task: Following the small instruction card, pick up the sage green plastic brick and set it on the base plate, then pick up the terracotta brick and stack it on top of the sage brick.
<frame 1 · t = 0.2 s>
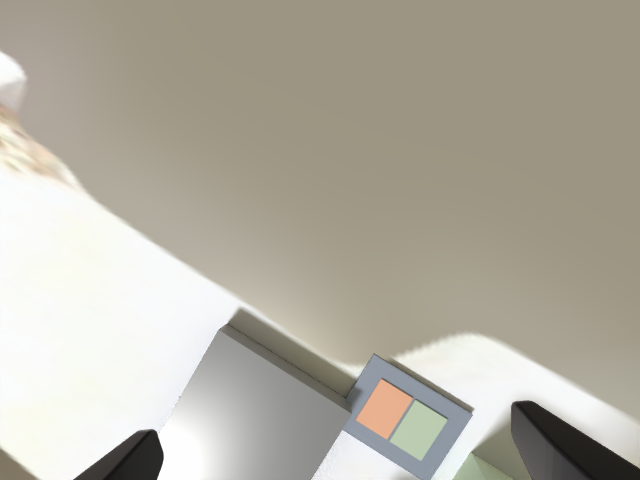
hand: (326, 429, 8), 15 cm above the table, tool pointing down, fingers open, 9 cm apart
base plate: (242, 438, 24), on the table
instruction card: (400, 416, 23), on the table
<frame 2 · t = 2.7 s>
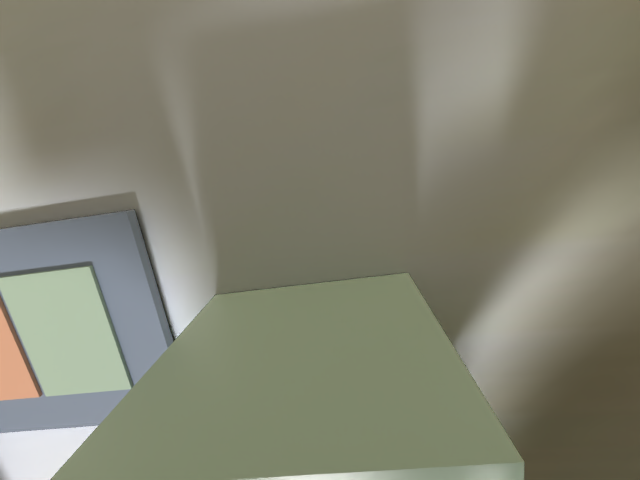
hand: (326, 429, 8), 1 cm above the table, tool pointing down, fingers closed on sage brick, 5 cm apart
instruction card: (32, 333, 9), on the table
sage brick: (328, 398, 9), on the table, touching gripper
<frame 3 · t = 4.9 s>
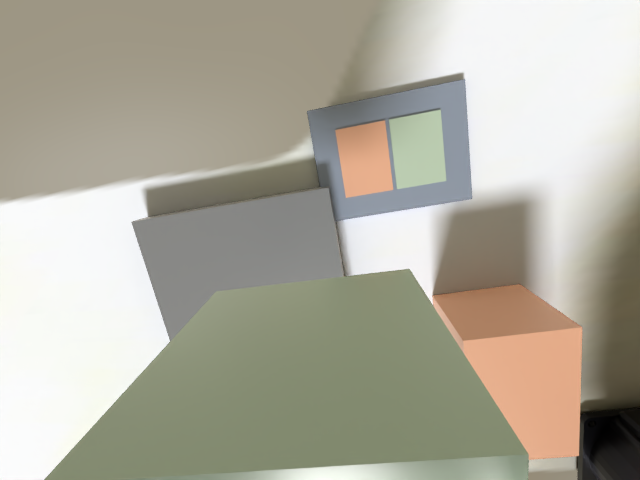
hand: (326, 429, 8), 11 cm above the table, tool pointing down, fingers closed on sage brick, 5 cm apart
base plate: (262, 310, 20), on the table
terracotta brick: (477, 340, 19), on the table
instruction card: (390, 155, 17), on the table
sage brick: (328, 395, 9), point 10 cm above the table, touching gripper
when the fingers open (4 cm above the table, at t = 7.0 s): sage brick drops 1 cm, resting on base plate.
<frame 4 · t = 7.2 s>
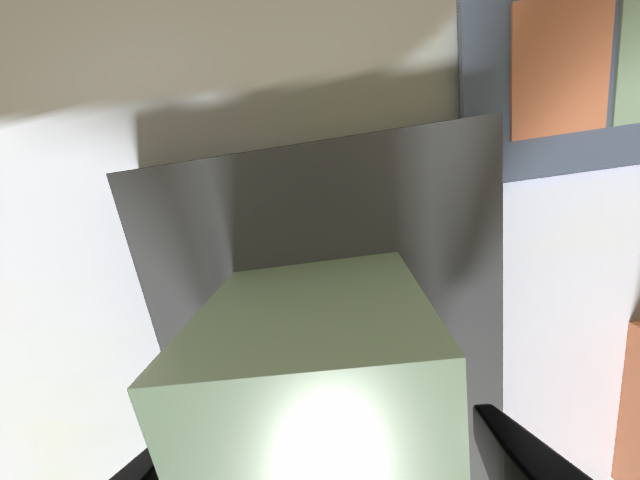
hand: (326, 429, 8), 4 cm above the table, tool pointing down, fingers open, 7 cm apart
base plate: (329, 339, 12), on the table
instruction card: (603, 62, 9), on the table
sage brick: (329, 362, 10), point 1 cm above the table, touching base plate
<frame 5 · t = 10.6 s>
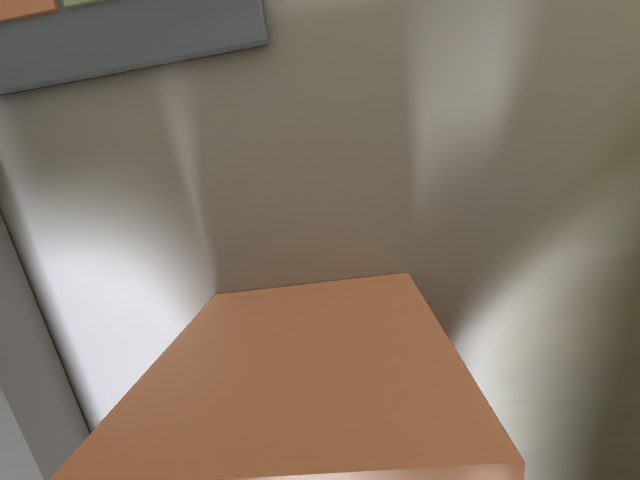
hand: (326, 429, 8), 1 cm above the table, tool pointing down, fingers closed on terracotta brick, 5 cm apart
terracotta brick: (327, 397, 9), on the table, touching gripper
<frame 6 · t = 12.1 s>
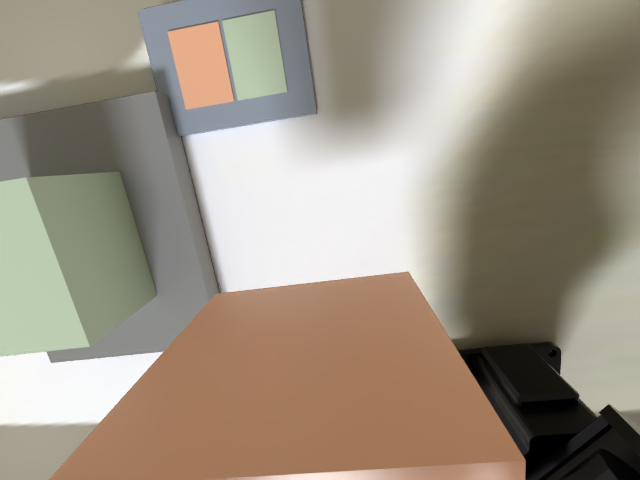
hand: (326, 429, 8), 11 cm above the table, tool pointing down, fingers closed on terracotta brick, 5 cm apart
base plate: (115, 237, 19), on the table
terracotta brick: (328, 397, 9), point 10 cm above the table, touching gripper
instruction card: (230, 64, 16), on the table
sage brick: (97, 242, 17), point 1 cm above the table, touching base plate
when the fingers open (9 cm above the table, at t = 13.7 s): terracotta brick drops 1 cm, resting on sage brick.
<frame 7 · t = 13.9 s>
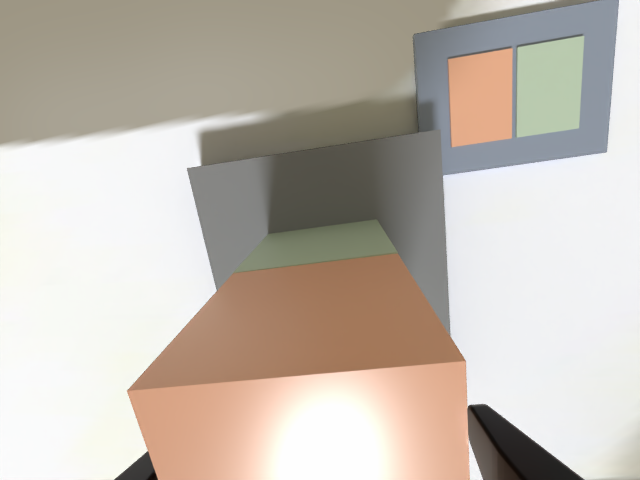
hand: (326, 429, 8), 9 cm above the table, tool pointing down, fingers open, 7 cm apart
base plate: (331, 286, 16), on the table
terracotta brick: (329, 364, 10), point 6 cm above the table, touching sage brick
instruction card: (509, 96, 14), on the table
sage brick: (332, 297, 15), point 1 cm above the table, touching base plate, terracotta brick
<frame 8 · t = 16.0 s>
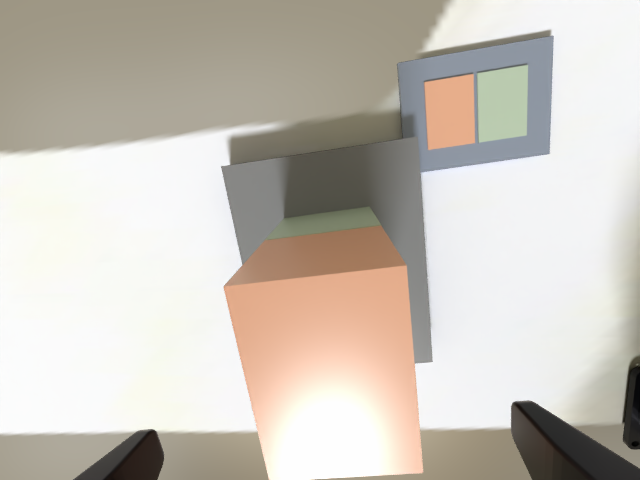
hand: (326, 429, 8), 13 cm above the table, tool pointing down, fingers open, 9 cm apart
base plate: (333, 262, 20), on the table
terracotta brick: (332, 307, 14), point 6 cm above the table, touching sage brick
instruction card: (473, 110, 18), on the table
sage brick: (334, 269, 19), point 1 cm above the table, touching base plate, terracotta brick
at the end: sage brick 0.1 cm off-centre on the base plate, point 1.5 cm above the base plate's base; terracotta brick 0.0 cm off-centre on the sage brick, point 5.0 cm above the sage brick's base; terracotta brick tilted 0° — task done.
